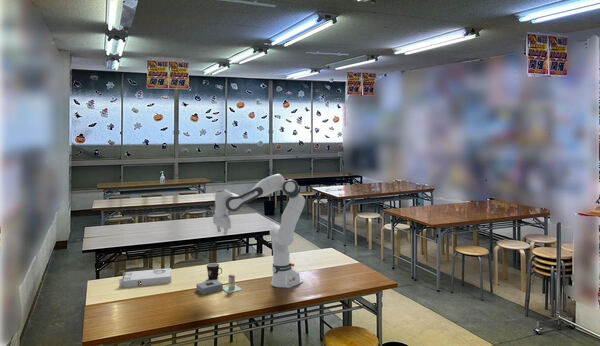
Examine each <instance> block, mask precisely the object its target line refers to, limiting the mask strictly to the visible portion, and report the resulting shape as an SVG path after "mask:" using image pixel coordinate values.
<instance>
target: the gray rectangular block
mask: <svg viewBox="0 0 600 346" xmlns="http://www.w3.org/2000/svg"><path fill="white" fill-rule="evenodd" d="M195 286H196V291H198V293H200V294H201V295H207V294H211V292H212V293H215V292H219V291H224V290H223V288H224V284H223V283H222V282H221V281H219V280H218V279H216V280H207V281H203V282H200V283H196V285H195Z"/></svg>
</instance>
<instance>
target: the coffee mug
mask: <svg viewBox="0 0 600 346" xmlns="http://www.w3.org/2000/svg"><path fill="white" fill-rule="evenodd" d="M206 269H207V278H208V281H212V280H218V278H219V275H221V274H222V273H223V269H222V268H221V267H220V263H219V262H211V263H207V264H206ZM219 270H221V272H219Z"/></svg>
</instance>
